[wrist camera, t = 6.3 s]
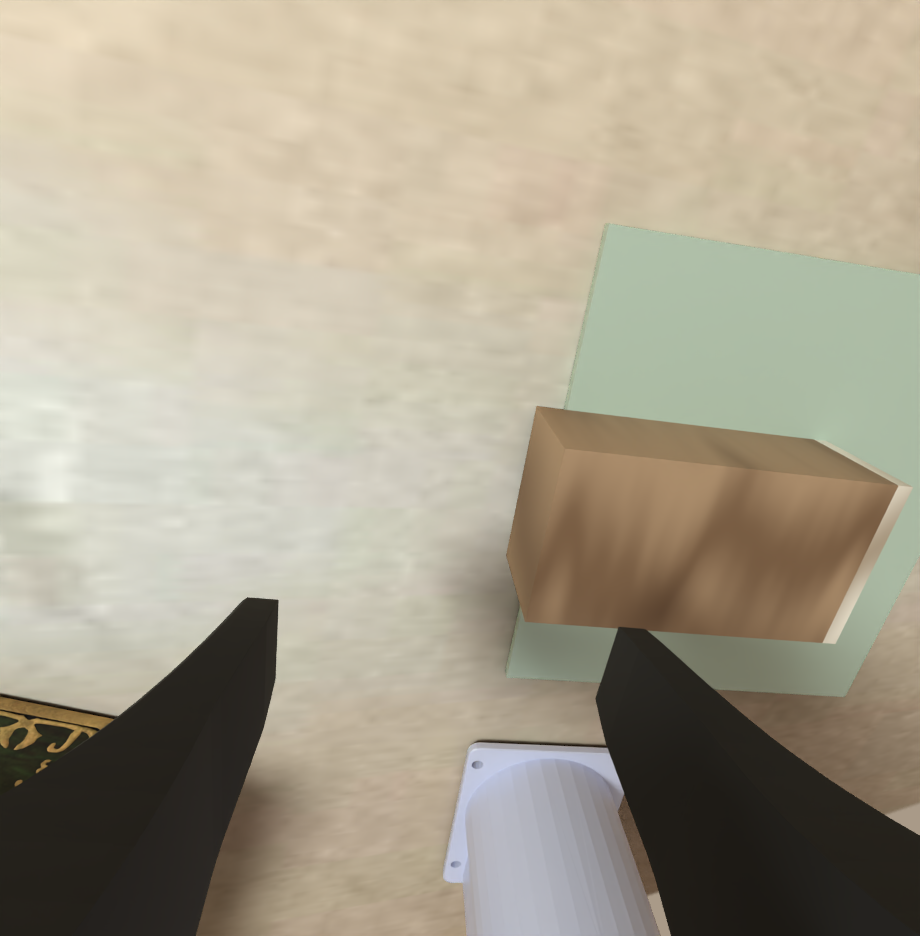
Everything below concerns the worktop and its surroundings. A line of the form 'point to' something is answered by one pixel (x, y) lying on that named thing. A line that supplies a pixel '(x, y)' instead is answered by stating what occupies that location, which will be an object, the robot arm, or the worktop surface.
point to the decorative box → (38, 737)
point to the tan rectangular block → (694, 528)
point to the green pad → (750, 415)
